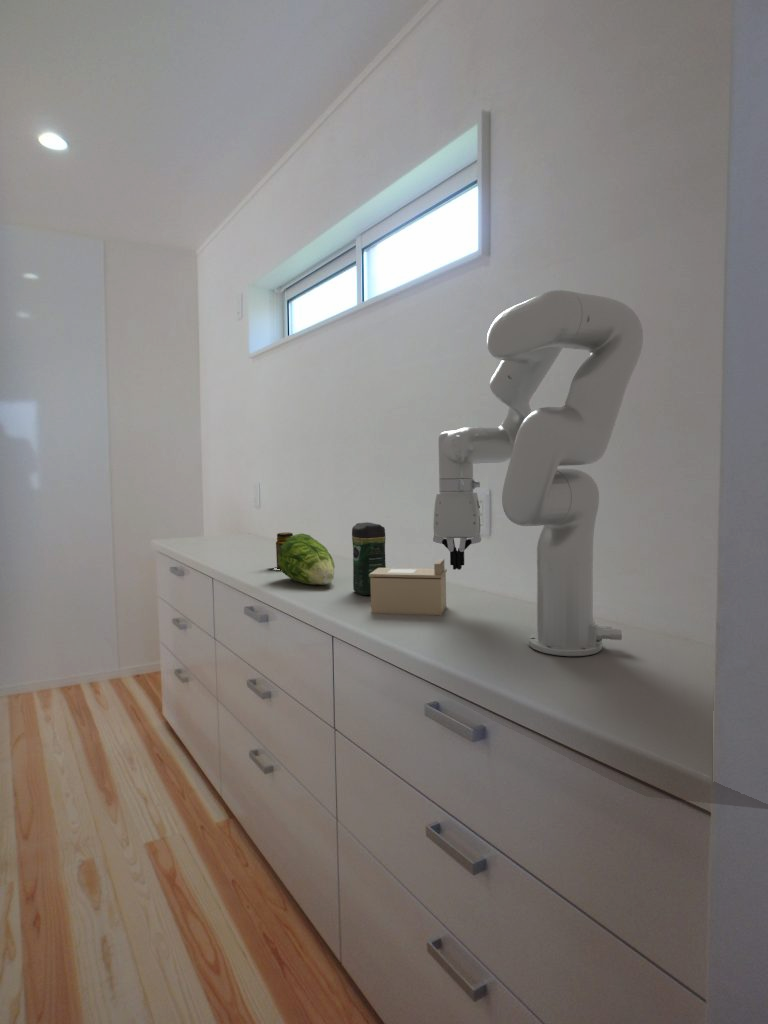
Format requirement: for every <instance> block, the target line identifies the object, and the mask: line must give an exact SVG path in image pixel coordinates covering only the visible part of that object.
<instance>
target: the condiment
mask: <svg viewBox="0 0 768 1024" xmlns="http://www.w3.org/2000/svg"><path fill="white" fill-rule="evenodd" d="M293 535H294V534H293V532H278V533H277V534H276V542H275V550H276V551H275V553H276V554H275V556H276V567H269V568H267V570H269V569H274V568H277V569H280V570H281V568H280V566H279V563H278V554H279V551H280V548H281V546H282V545H283V543H284V542H285V541H286V540H287V539H288V538H290V537H291V536H293ZM274 572H277V571H276V570H275V571H274ZM280 572H282V570H281V571H280Z"/></svg>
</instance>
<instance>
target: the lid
mask: <svg viewBox="0 0 768 1024" xmlns="http://www.w3.org/2000/svg"><path fill="white" fill-rule="evenodd" d="M433 566H434V567H433V568H421V567H420V568H419V567H418V568H417V567H416V568H415V567H414V568H413V567H410V568H409V567H408V568H407V567H386V568H377V569H376V570H374V571H373V572H371V573H370V574H369V577H407V578H442V577H443V575H444V574H445V573H447V572H448V571H447V570H448V569H447V568H445V558H439V559H437V560H436V561H435V562H434V565H433Z"/></svg>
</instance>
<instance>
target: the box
mask: <svg viewBox="0 0 768 1024" xmlns="http://www.w3.org/2000/svg"><path fill="white" fill-rule="evenodd" d="M446 573H447V572H446ZM446 573H445V574H444V575H443V577H442V578H407V577H371V578H370V585H371V595H370V613H371V614H374V613H375V614H398V615H399V614H400V615H404V614H405V615H424V616H425V615H426V616H442V615H443V613H444V611H445V610H446V608H447V574H446Z"/></svg>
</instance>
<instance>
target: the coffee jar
mask: <svg viewBox="0 0 768 1024" xmlns="http://www.w3.org/2000/svg"><path fill="white" fill-rule="evenodd" d="M351 540H352V541H351V542H352V555H353V556H352V558H353V559H352V567H353V568H352V569H353V571H352V573H353V574H352V576H353V577H352V578H353V579H352V585H353V591H354V592H355V593H357V594H358V595H362V596H366V595H368V596H369V595H370V596H371V585H370V578H371V577H369V574H370V573H371V572H373V571H374V570H376V569H377V568H387V567H386V566H387V565H386V529H385V526H382V525H381V524H380V523H378V524H377V523H374V522H358V523H356V524H355V525H353V526H352V529H351Z"/></svg>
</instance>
